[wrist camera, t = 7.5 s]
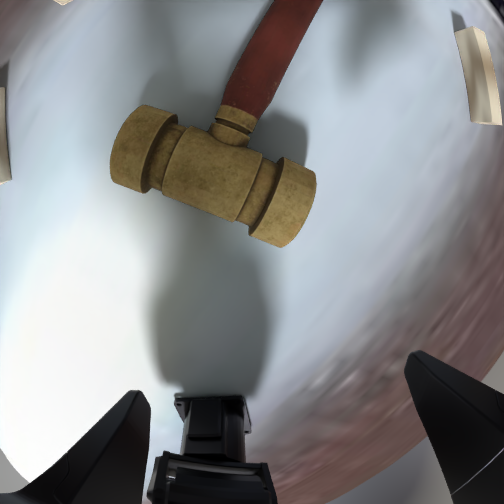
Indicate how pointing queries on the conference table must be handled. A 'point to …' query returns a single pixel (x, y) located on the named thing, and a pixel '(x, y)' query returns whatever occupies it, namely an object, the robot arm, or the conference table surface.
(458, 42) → the wooden bars
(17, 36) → the conference table surface
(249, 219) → the gavel
